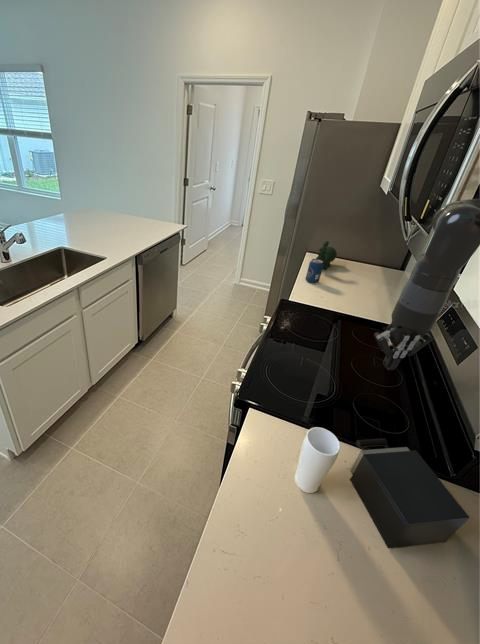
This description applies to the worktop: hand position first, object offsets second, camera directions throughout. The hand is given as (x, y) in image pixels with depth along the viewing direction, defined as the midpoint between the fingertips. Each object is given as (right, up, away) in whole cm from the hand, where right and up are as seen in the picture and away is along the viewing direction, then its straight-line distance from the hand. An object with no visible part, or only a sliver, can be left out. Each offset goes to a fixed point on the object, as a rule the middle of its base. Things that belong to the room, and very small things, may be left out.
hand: (388, 367), depth 71 cm
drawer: (-3, -27, -2) cm, 27 cm away
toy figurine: (+33, +37, +114) cm, 124 cm away
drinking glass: (-20, -26, -1) cm, 33 cm away
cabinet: (-2, -30, -5) cm, 30 cm away
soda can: (+19, +27, +94) cm, 100 cm away
